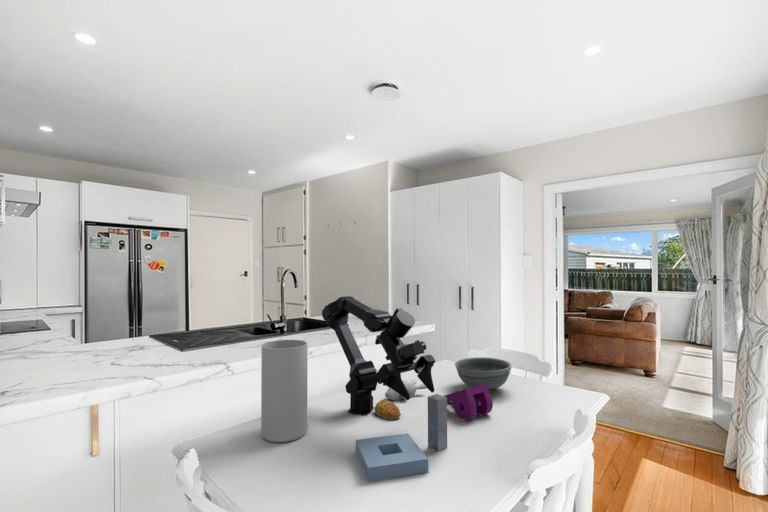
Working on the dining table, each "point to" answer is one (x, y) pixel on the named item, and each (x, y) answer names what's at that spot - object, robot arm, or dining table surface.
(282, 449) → the dining table surface
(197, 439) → the dining table surface
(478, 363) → the bowl
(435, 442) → the grey tapered peg
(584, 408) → the dining table surface
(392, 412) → the pastry
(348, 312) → the robot arm
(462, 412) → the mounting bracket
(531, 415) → the dining table surface
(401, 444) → the blue square washer
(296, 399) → the cylinder vase
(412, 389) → the bunny figurine
